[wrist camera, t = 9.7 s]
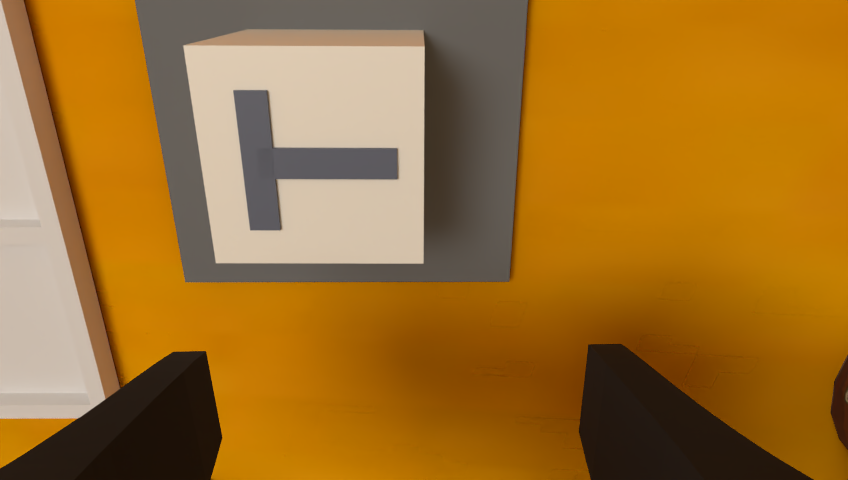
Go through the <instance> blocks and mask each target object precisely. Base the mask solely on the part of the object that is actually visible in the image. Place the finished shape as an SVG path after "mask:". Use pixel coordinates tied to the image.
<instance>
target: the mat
mask: <svg viewBox="0 0 848 480" xmlns="http://www.w3.org/2000/svg"><path fill="white" fill-rule="evenodd" d="M135 3H136V8H137V14H138V20H139V25H140V31H141V36H142V42H143V47H144V53H145V59H146V64H147V70H148V75H149V81H150V87H151V92H152V98H153V103H154V109H155V115H156V120H157V126H158V131H159V137H160V142H161V148H162V154H163V159H164V165H165V170H166V176H167V182H168V187H169V193H170V198H171V204H172V210H173V215H174V221H175V226H176V232H177V237H178V243H179V249H180V254H181V260H182V265H183V271H184V277H185V282H509V278H510V263H511V248H512V233H513V218H514V203H515V187H516V172H517V157H518V142H519V127H520V112H521V97H522V82H523V67H524V52H525V37H526V22H527V7H528V0H135ZM247 29H314V30H423V33H424V45H425V71H424V264H355V263H216V261H215V254H214V247H213V241H212V234H211V227H210V221H209V214H208V207H207V201H206V194H205V187H204V181H203V174H202V167H201V161H200V154H199V147H198V141H197V134H196V127H195V121H194V114H193V107H192V101H191V94H190V87H189V81H188V74H187V67H186V61H185V54H184V47H183V45H187V44H191V43H195V42H199V41H203V40H207V39H211V38H215V37H219V36H223V35H227V34H231V33H235V32H239V31H243V30H247Z"/></svg>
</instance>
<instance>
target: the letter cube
mask: <svg viewBox="0 0 848 480" xmlns="http://www.w3.org/2000/svg"><path fill="white" fill-rule="evenodd" d="M183 47H184V54H185V61H186V67H187V74H188V81H189V87H190V94H191V101H192V107H193V114H194V121H195V127H196V134H197V141H198V147H199V154H200V161H201V167H202V174H203V181H204V187H205V194H206V201H207V207H208V214H209V221H210V227H211V234H212V241H213V247H214V254H215V261H216V263H355V264H424V71H425V45H424V33H423V30H314V29H247V30H243V31H239V32H235V33H231V34H227V35H223V36H219V37H215V38H211V39H207V40H203V41H199V42H195V43H191V44H187V45H183Z"/></svg>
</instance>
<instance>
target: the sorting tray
mask: <svg viewBox="0 0 848 480" xmlns="http://www.w3.org/2000/svg"><path fill="white" fill-rule="evenodd" d="M119 389H120V386H119V382H118V378H117V374H116V370H115V366H114V362H113V358H112V354H111V350H110V346H109V342H108V338H107V334H106V330H105V326H104V322H103V318H102V314H101V310H100V306H99V302H98V298H97V294H96V290H95V286H94V281H93V277H92V273H91V269H90V265H89V261H88V257H87V253H86V249H85V245H84V241H83V237H82V233H81V229H80V225H79V221H78V217H77V213H76V209H75V205H74V201H73V197H72V193H71V189H70V185H69V181H68V177H67V173H66V169H65V165H64V161H63V157H62V153H61V149H60V145H59V141H58V137H57V133H56V129H55V125H54V121H53V117H52V112H51V108H50V104H49V100H48V96H47V92H46V88H45V84H44V80H43V76H42V72H41V68H40V64H39V60H38V56H37V52H36V48H35V44H34V40H33V36H32V32H31V28H30V24H29V20H28V16H27V12H26V8H25V4H24V0H0V418H80V417H81V416H83V415H84V414H85V413H87V412H88V411H90V410H91V409H93V408H94V407H95V406H97V405H98V404H100V403H101V402H102V401H104V400H105V399H107V398H108V397H109V396H111V395H112V394H114V393H115V392H116V391H118V390H119Z"/></svg>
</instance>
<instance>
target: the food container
mask: <svg viewBox="0 0 848 480" xmlns="http://www.w3.org/2000/svg"><path fill="white" fill-rule="evenodd" d="M831 415H832V418H833V421H834V424H835V428H836V431H837V434H838V437H839V439H840V440H841V442H842V443H843V444H844V445H845V447H846V448H847V449H848V355H847V357H846V359H845V361H844V363H843V365H842V367H841V369H840V371H839V373H838V375H837V377H836V379H835V381H834V389H833V397H832V406H831Z"/></svg>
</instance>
